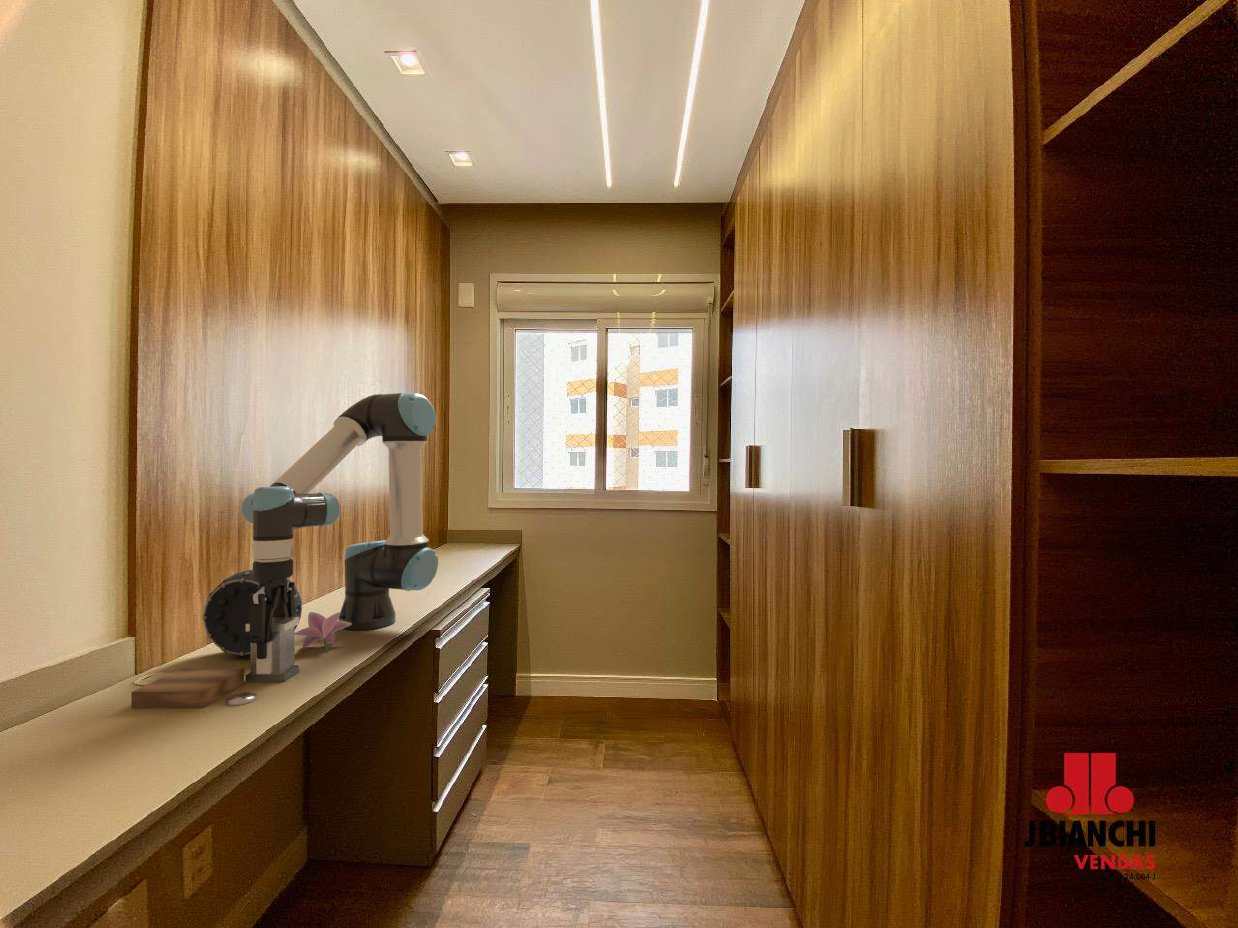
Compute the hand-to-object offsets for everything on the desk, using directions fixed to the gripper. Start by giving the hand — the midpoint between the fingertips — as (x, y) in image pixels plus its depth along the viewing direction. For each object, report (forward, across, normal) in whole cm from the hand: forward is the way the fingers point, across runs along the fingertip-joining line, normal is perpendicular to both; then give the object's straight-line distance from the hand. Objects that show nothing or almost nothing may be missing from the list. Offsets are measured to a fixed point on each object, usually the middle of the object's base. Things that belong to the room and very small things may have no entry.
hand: (272, 667), depth 130 cm
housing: (+2, 0, 0) cm, 2 cm away
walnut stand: (+2, +10, -10) cm, 15 cm away
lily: (+2, -20, +1) cm, 20 cm away
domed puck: (+2, +13, +1) cm, 13 cm away
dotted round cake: (+2, -16, -13) cm, 21 cm away
